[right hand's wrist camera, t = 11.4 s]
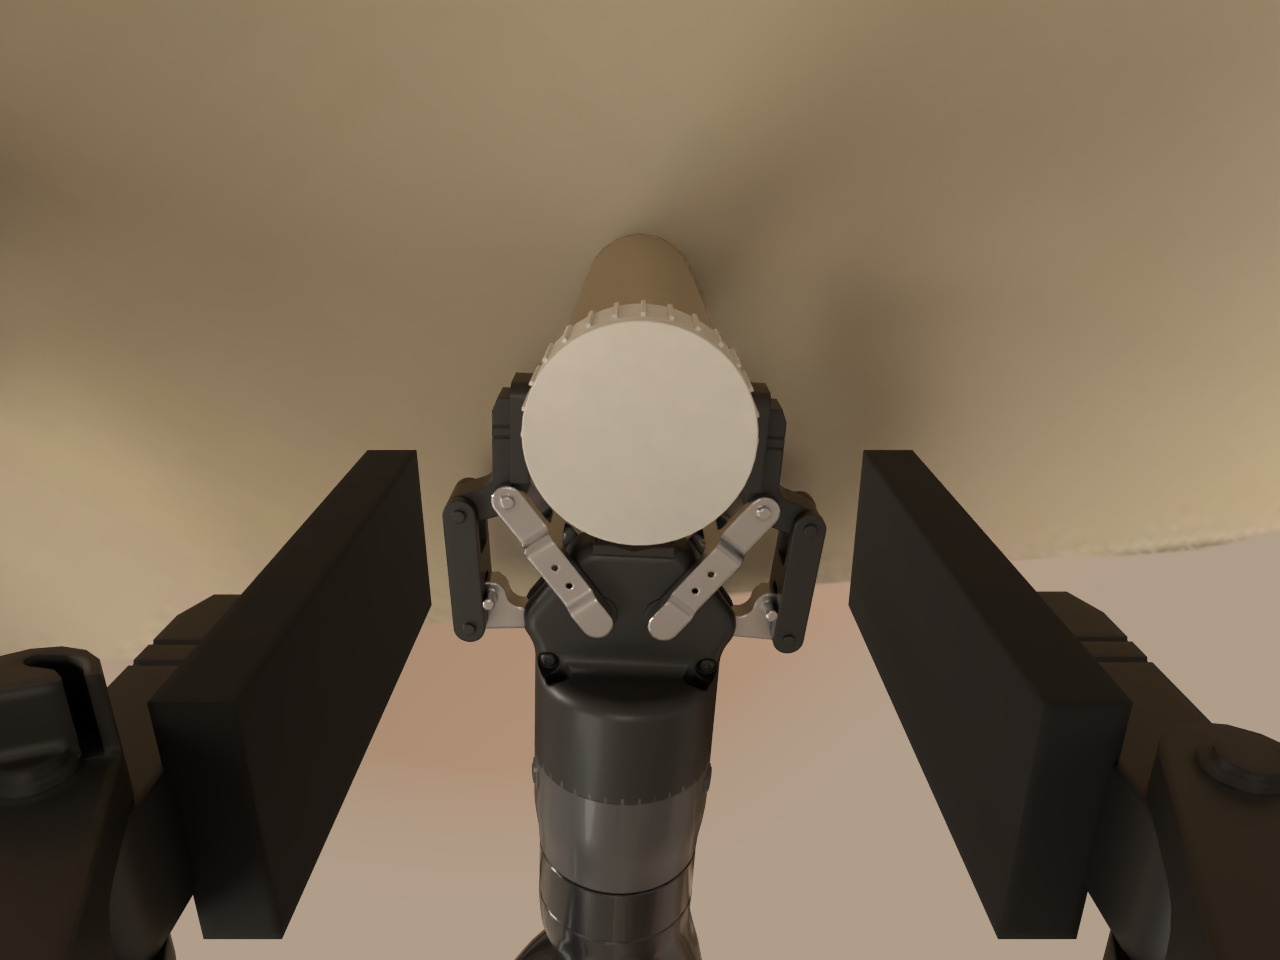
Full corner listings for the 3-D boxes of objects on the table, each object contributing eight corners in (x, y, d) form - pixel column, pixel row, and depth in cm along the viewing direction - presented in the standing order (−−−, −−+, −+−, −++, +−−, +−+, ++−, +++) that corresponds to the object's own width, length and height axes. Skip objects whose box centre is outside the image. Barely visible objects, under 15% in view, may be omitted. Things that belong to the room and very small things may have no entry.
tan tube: (575, 247, 36) (512, 352, 18) (682, 224, 35) (725, 308, 18) (599, 352, 37) (562, 544, 20) (702, 331, 37) (759, 507, 19)
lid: (503, 324, 19) (489, 344, 18) (731, 277, 19) (740, 292, 17) (558, 529, 21) (550, 568, 19) (766, 490, 21) (779, 525, 19)
